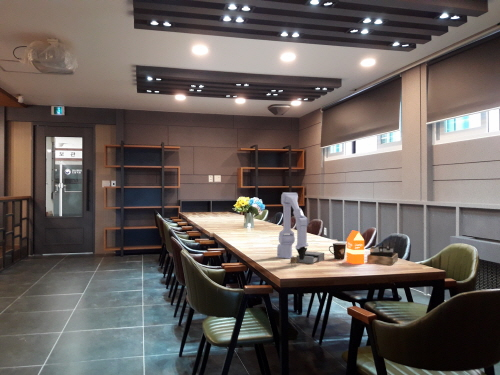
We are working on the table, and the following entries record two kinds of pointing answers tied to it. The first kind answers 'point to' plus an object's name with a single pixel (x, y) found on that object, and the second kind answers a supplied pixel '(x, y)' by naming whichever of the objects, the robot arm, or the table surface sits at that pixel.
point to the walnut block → (293, 260)
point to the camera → (381, 251)
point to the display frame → (383, 259)
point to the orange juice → (355, 248)
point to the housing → (315, 255)
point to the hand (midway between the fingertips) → (301, 259)
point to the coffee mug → (338, 250)
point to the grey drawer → (307, 259)
